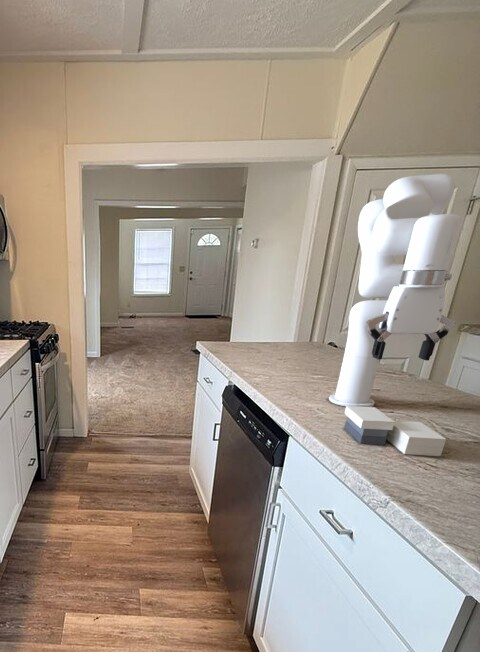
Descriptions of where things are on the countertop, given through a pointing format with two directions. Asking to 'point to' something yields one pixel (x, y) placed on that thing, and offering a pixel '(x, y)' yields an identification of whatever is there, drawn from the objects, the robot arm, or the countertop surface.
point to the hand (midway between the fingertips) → (399, 358)
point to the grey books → (366, 433)
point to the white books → (415, 439)
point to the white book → (369, 418)
